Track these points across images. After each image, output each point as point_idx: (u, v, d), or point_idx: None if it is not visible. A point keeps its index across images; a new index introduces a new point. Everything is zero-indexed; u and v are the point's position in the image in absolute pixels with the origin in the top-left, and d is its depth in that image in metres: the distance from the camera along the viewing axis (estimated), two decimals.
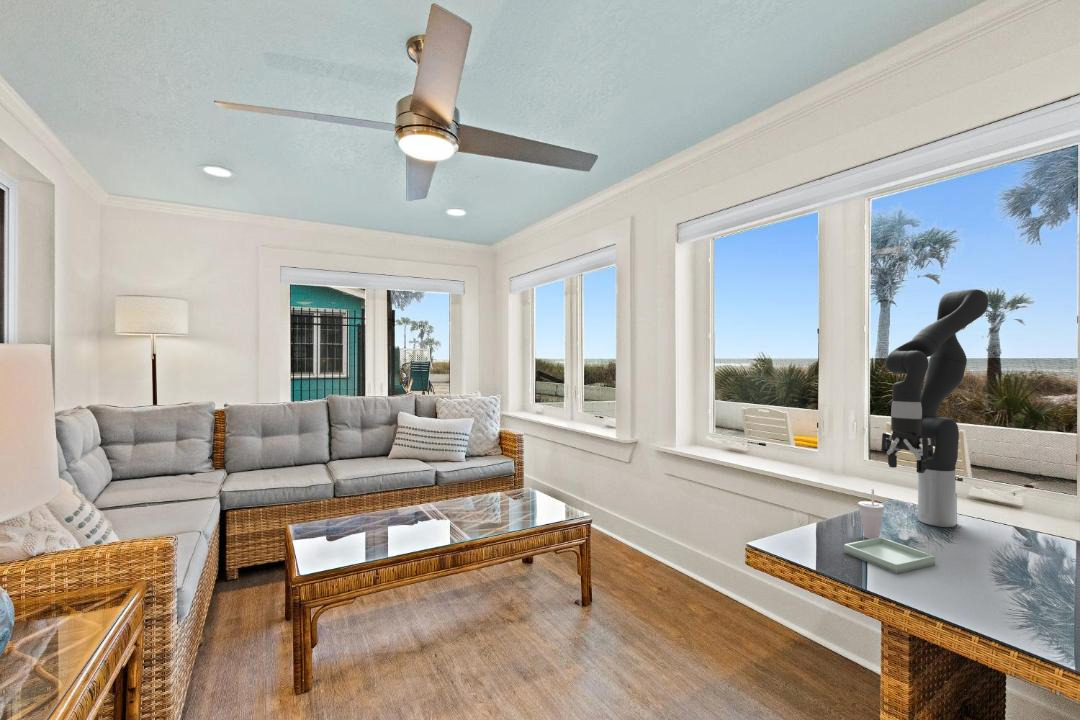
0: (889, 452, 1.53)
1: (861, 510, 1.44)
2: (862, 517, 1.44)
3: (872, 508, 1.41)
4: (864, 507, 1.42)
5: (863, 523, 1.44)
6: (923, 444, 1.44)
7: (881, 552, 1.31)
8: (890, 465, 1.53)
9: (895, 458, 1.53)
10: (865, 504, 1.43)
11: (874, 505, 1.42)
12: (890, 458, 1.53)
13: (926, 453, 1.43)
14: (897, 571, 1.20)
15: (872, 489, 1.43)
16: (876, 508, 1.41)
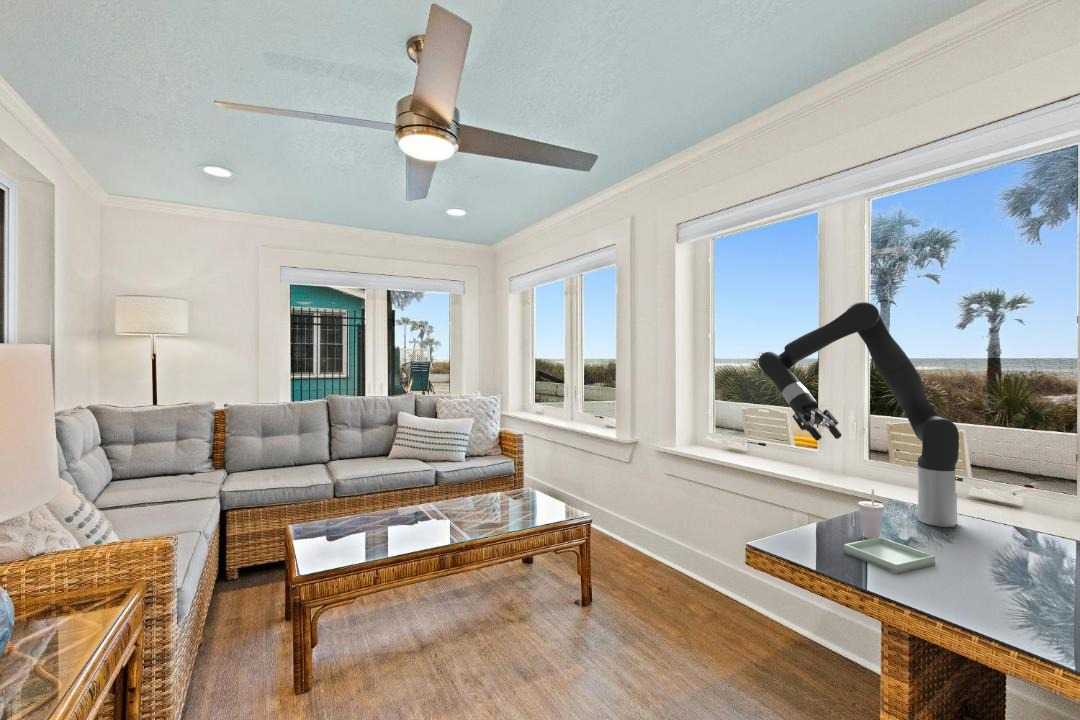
0: None
1: (861, 510, 1.44)
2: (862, 517, 1.44)
3: (872, 508, 1.41)
4: (864, 507, 1.42)
5: (863, 523, 1.44)
6: None
7: (881, 552, 1.31)
8: None
9: (834, 429, 1.59)
10: (865, 504, 1.43)
11: (874, 505, 1.42)
12: None
13: None
14: (897, 571, 1.20)
15: (872, 489, 1.43)
16: (876, 508, 1.41)
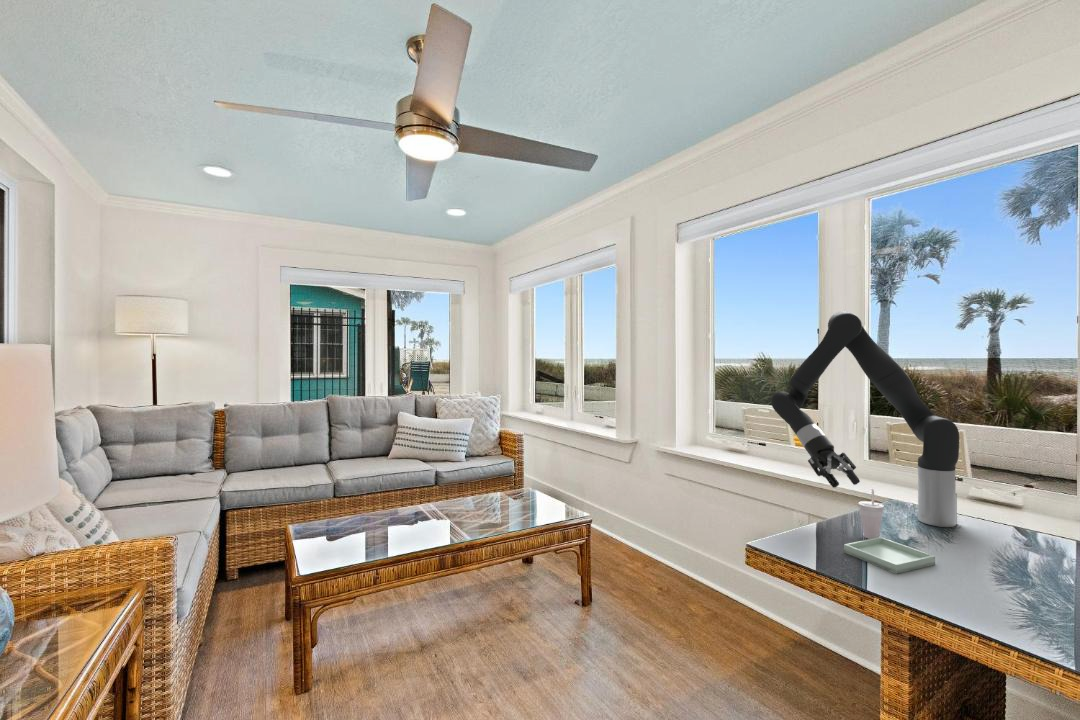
0: None
1: (861, 510, 1.44)
2: (862, 517, 1.44)
3: (872, 508, 1.41)
4: (864, 507, 1.42)
5: (863, 523, 1.44)
6: None
7: (881, 552, 1.31)
8: None
9: (851, 474, 1.53)
10: (865, 504, 1.43)
11: (874, 505, 1.42)
12: None
13: None
14: (897, 571, 1.20)
15: (872, 489, 1.43)
16: (876, 508, 1.41)
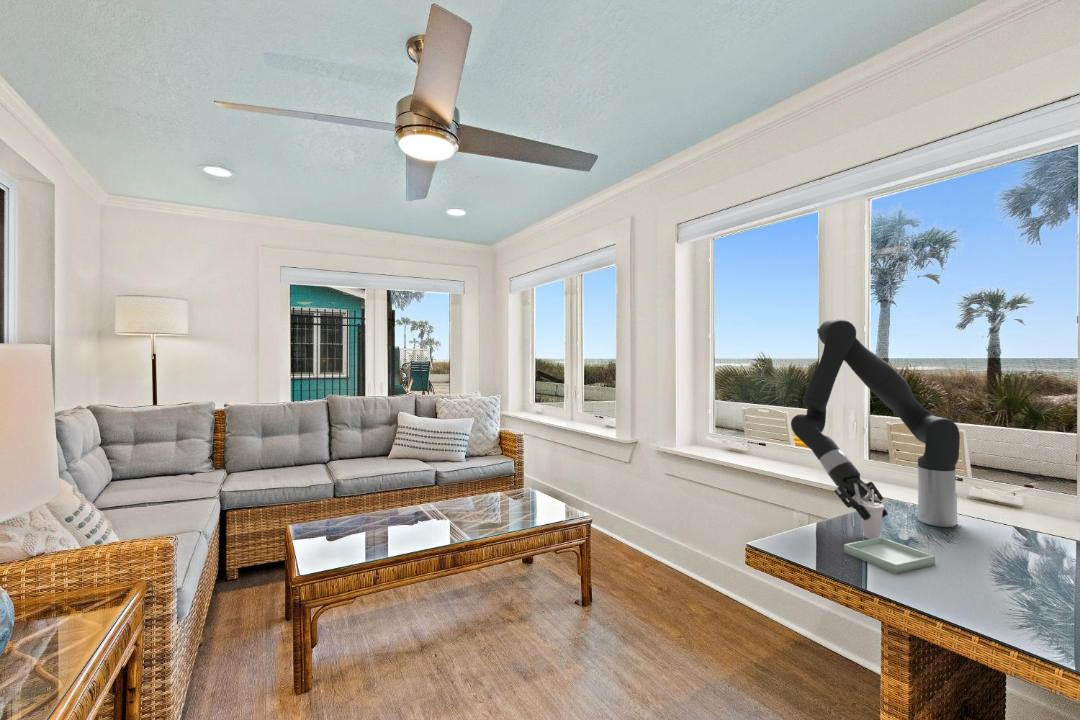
0: None
1: None
2: None
3: (872, 508, 1.41)
4: (864, 507, 1.42)
5: (863, 523, 1.44)
6: None
7: (881, 552, 1.31)
8: None
9: None
10: (865, 504, 1.43)
11: (874, 505, 1.42)
12: None
13: None
14: (897, 571, 1.20)
15: (872, 489, 1.43)
16: (876, 508, 1.41)
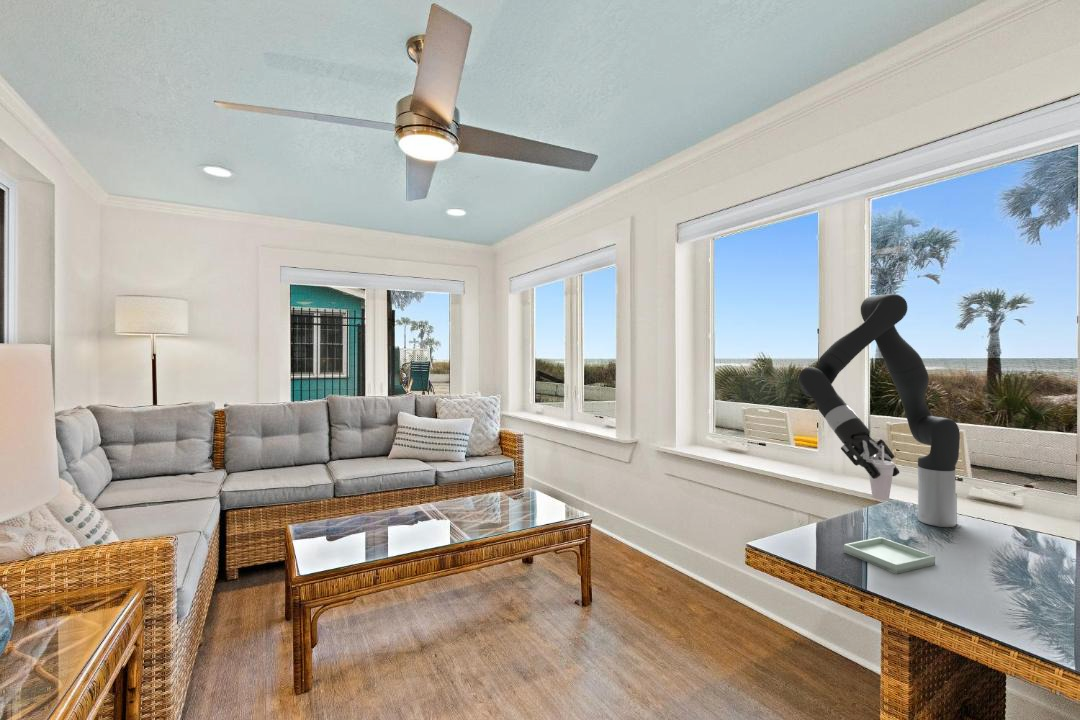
0: None
1: None
2: None
3: (882, 465, 1.29)
4: None
5: (872, 482, 1.32)
6: None
7: (881, 552, 1.31)
8: None
9: None
10: (874, 462, 1.31)
11: (884, 462, 1.30)
12: None
13: (851, 460, 1.33)
14: (897, 571, 1.20)
15: None
16: (886, 465, 1.29)
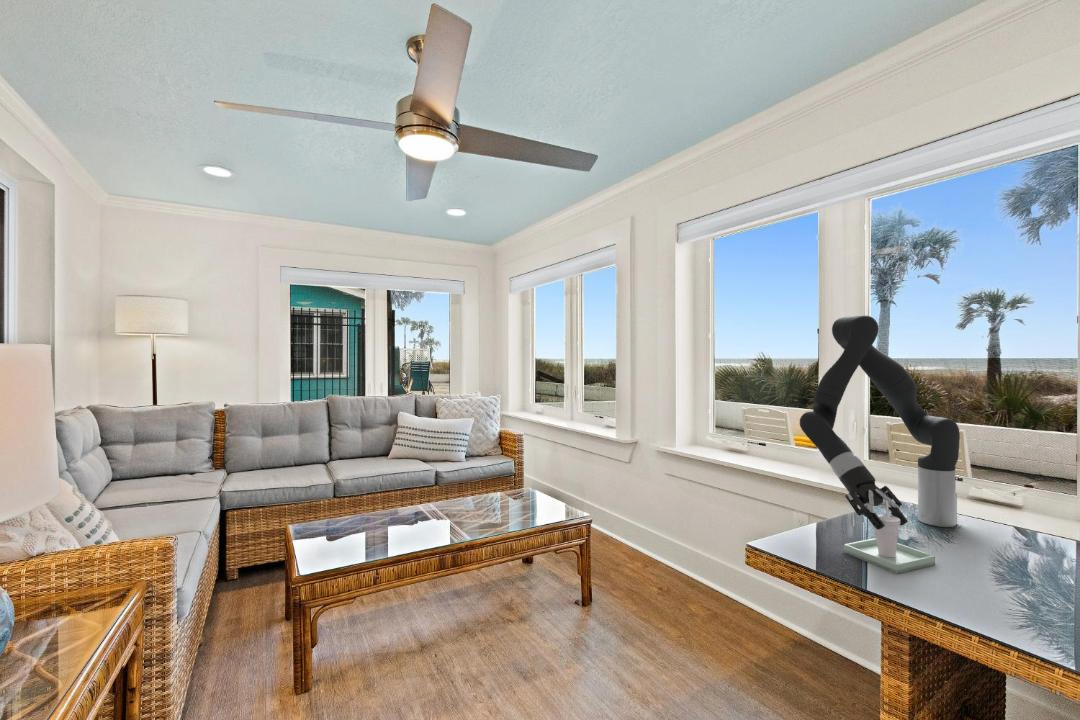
0: None
1: None
2: (876, 532, 1.29)
3: (887, 522, 1.27)
4: None
5: (878, 539, 1.29)
6: None
7: None
8: None
9: (897, 513, 1.30)
10: None
11: (889, 519, 1.28)
12: None
13: None
14: (897, 571, 1.20)
15: (886, 501, 1.29)
16: (892, 522, 1.26)
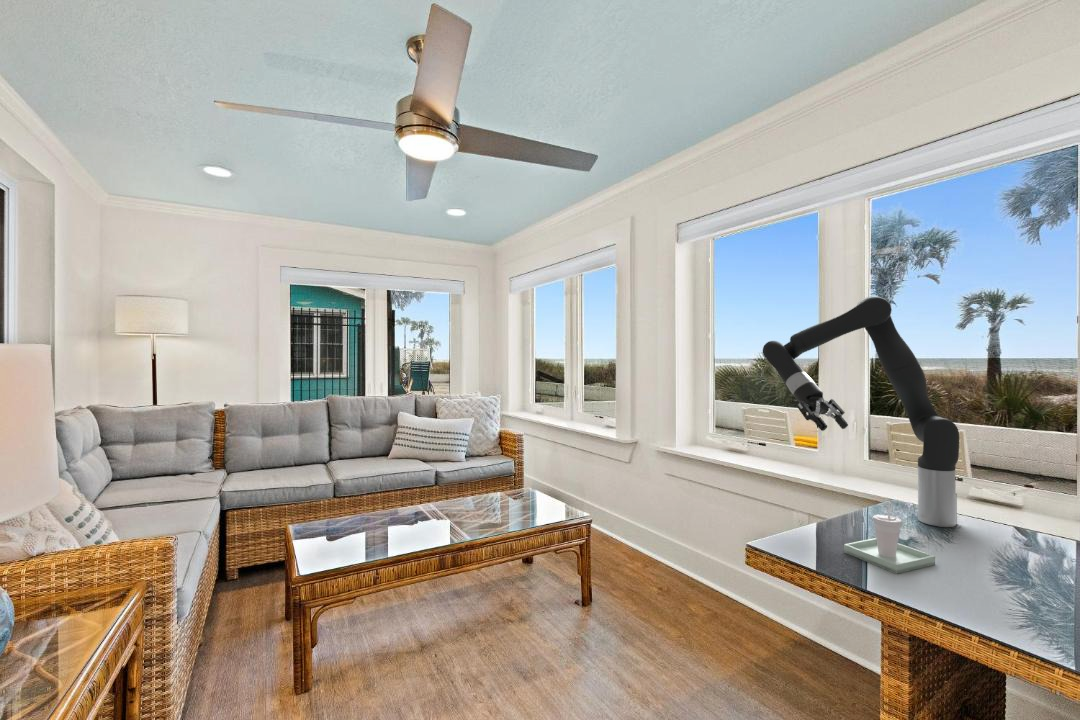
0: None
1: (876, 525, 1.29)
2: (877, 533, 1.29)
3: (889, 523, 1.26)
4: (880, 522, 1.28)
5: (878, 539, 1.29)
6: None
7: None
8: None
9: (840, 419, 1.54)
10: (881, 518, 1.29)
11: (891, 519, 1.28)
12: None
13: None
14: (897, 571, 1.20)
15: (888, 501, 1.29)
16: (893, 523, 1.26)
